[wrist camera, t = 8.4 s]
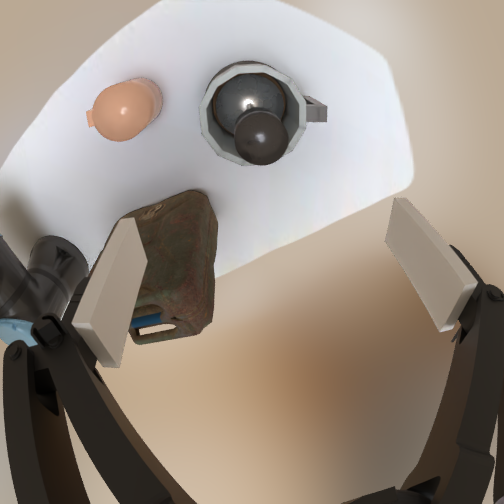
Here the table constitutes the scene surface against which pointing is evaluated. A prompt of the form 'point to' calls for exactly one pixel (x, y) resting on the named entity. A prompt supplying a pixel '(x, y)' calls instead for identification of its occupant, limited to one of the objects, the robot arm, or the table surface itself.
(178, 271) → the canister
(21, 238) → the table surface
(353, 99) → the table surface
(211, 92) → the faceted grey tankard
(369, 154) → the table surface
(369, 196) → the table surface
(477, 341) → the robot arm
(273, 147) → the plunger
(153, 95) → the peach mug
